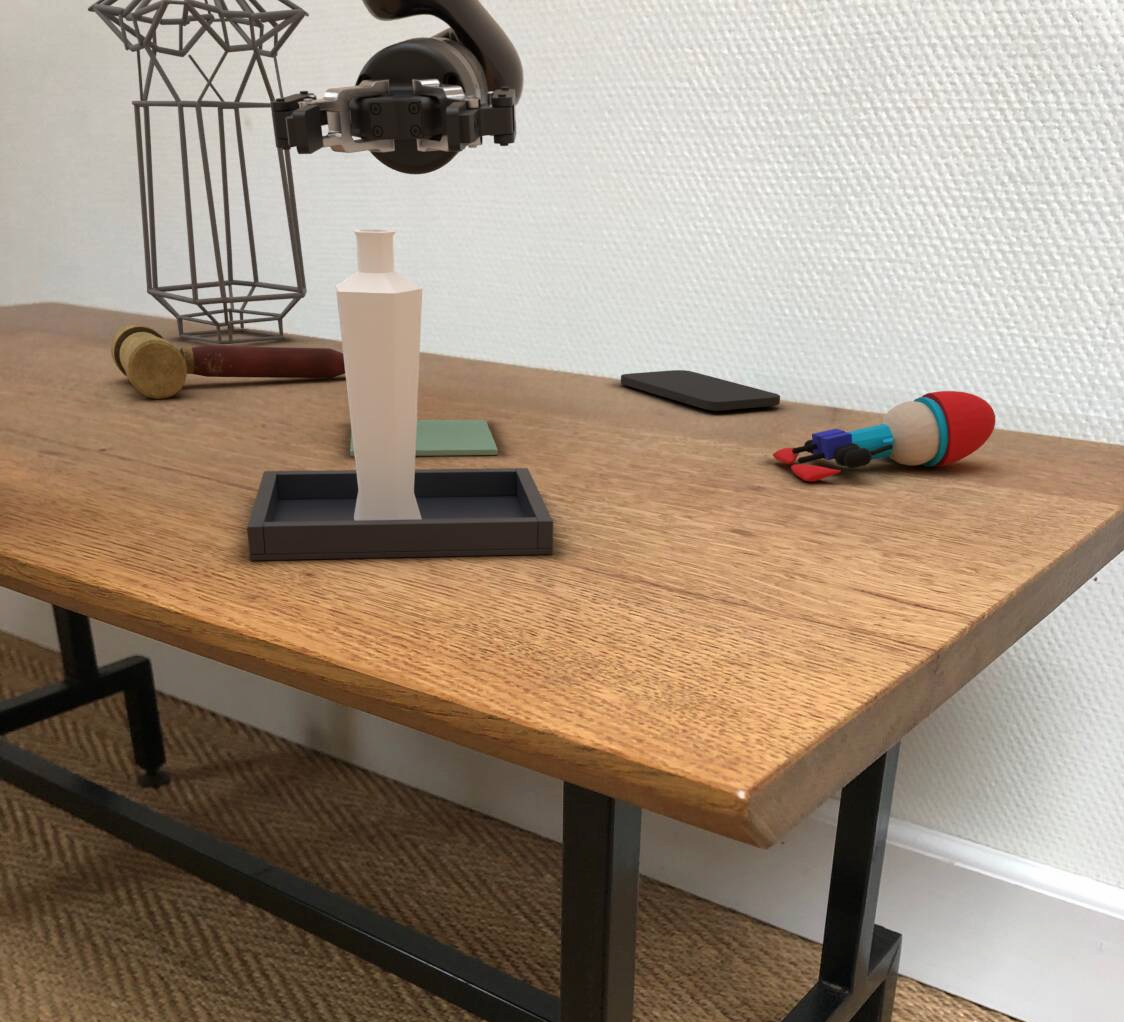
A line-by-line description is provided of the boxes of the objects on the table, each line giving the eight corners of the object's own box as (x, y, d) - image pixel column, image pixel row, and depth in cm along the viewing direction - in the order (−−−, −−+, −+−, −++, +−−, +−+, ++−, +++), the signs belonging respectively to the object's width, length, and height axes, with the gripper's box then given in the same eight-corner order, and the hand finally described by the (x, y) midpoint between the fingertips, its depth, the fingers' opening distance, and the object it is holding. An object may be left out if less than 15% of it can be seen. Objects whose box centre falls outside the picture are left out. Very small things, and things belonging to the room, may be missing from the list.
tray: (249, 560, 64) (246, 526, 64) (266, 501, 75) (263, 470, 74) (552, 554, 66) (553, 521, 66) (527, 497, 77) (528, 467, 76)
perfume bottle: (325, 520, 70) (307, 229, 64) (386, 506, 73) (374, 226, 67) (378, 537, 67) (365, 235, 61) (439, 522, 70) (433, 232, 64)
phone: (685, 369, 115) (787, 396, 103) (684, 378, 115) (786, 406, 103) (615, 374, 112) (712, 402, 100) (614, 384, 112) (711, 413, 100)
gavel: (349, 329, 116) (383, 345, 108) (348, 381, 118) (382, 400, 109) (108, 322, 107) (126, 339, 99) (112, 378, 109) (129, 398, 101)
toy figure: (813, 509, 81) (1022, 460, 83) (806, 432, 79) (1021, 385, 82) (767, 489, 88) (962, 445, 90) (760, 418, 86) (960, 374, 88)
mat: (350, 456, 85) (350, 450, 85) (352, 425, 94) (351, 420, 94) (497, 455, 87) (497, 449, 86) (485, 424, 95) (485, 419, 95)
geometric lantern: (337, 341, 131) (315, -56, 116) (204, 357, 121) (161, -77, 105) (250, 325, 141) (219, -43, 125) (121, 338, 130) (69, -62, 115)
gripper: (308, 41, 82) (239, 57, 68) (526, 36, 81) (501, 51, 67) (322, 167, 86) (260, 207, 72) (530, 164, 85) (508, 203, 71)
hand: (376, 132), depth 70 cm, fingers open, 8 cm apart
